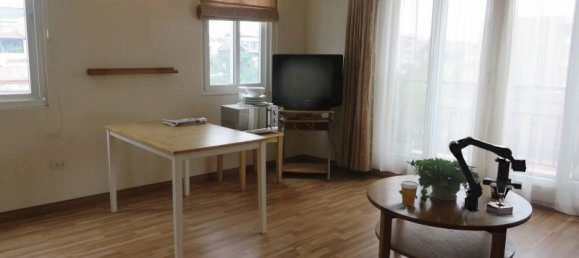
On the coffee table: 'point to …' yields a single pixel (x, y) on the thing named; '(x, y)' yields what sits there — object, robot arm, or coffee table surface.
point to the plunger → (500, 197)
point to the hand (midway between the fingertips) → (500, 199)
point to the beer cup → (409, 192)
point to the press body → (499, 208)
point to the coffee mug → (500, 190)
